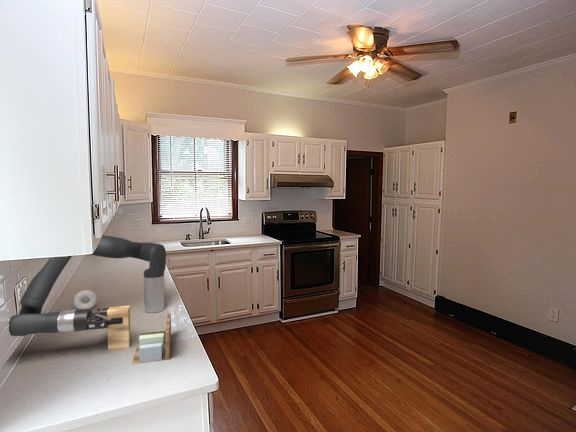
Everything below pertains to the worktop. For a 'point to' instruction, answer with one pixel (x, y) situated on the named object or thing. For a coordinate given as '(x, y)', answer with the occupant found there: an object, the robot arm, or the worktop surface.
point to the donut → (84, 293)
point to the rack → (166, 342)
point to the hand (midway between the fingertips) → (124, 315)
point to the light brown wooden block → (119, 328)
